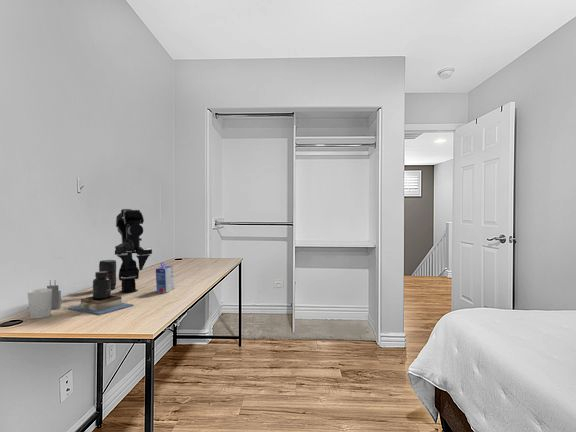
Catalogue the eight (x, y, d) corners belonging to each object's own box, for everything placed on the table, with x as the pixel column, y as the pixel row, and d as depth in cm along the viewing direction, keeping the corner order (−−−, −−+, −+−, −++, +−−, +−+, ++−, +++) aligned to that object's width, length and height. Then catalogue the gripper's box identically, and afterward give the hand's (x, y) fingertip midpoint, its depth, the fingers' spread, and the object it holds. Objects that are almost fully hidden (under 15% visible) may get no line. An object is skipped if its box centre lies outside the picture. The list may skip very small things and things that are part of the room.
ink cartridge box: (164, 288, 194) (163, 261, 194) (174, 289, 194) (174, 261, 194) (155, 293, 184) (155, 263, 184) (166, 293, 184) (166, 264, 184)
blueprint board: (68, 309, 154) (68, 308, 154) (102, 300, 169) (102, 299, 169) (100, 315, 145) (100, 313, 145) (133, 305, 160) (133, 304, 160)
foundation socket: (80, 307, 155) (80, 299, 154) (104, 302, 164) (104, 293, 164) (98, 310, 150) (98, 301, 150) (121, 304, 159) (121, 296, 159)
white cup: (26, 320, 139) (26, 293, 139) (29, 315, 146) (29, 289, 146) (51, 317, 143) (51, 291, 143) (53, 312, 150) (53, 287, 150)
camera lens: (106, 291, 188) (106, 262, 188) (95, 290, 192) (95, 261, 192) (120, 288, 196) (119, 260, 195) (109, 287, 199) (109, 259, 199)
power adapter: (47, 307, 157) (47, 279, 157) (61, 307, 158) (61, 279, 158) (44, 309, 154) (43, 280, 154) (58, 309, 155) (58, 280, 154)
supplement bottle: (112, 300, 156) (111, 272, 156) (93, 303, 152) (93, 273, 152) (109, 297, 162) (109, 270, 162) (92, 299, 158) (91, 271, 158)
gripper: (104, 237, 172) (105, 271, 171) (132, 237, 163) (133, 272, 163) (124, 236, 181) (125, 268, 181) (152, 236, 173) (153, 269, 173)
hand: (133, 269), depth 174 cm, fingers open, 9 cm apart
